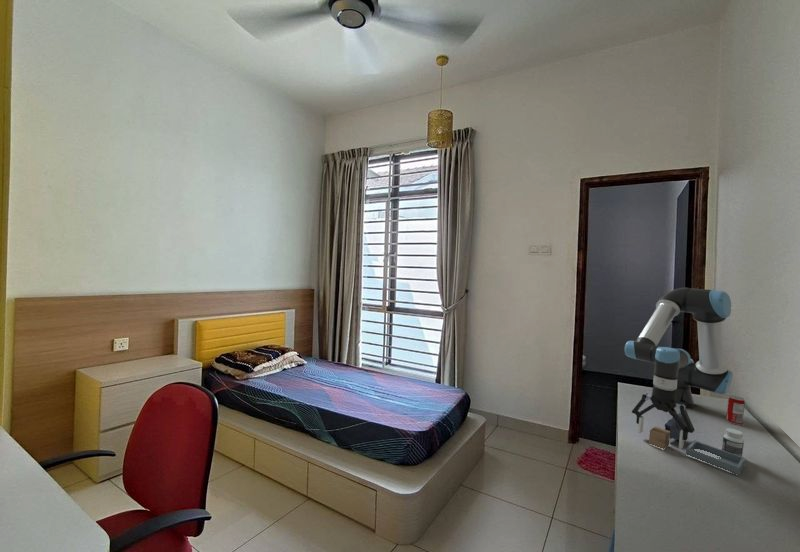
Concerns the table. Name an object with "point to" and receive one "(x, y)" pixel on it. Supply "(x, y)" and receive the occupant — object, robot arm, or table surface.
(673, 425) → the stone
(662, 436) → the brown cube
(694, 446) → the tray
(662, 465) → the table surface
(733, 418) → the soda can
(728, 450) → the pill bottle
